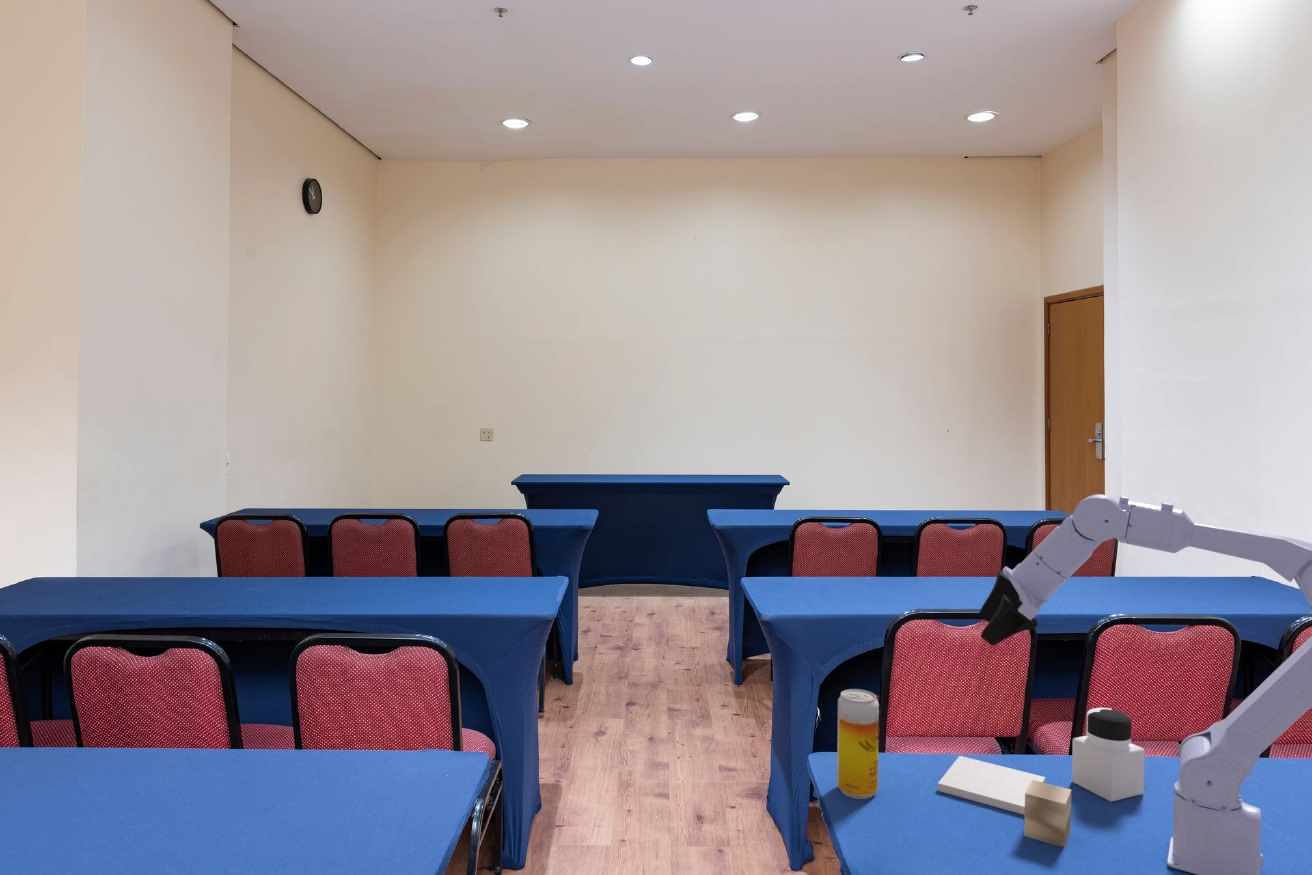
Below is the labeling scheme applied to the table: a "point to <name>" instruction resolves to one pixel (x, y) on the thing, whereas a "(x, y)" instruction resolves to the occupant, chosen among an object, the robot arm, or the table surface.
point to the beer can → (857, 743)
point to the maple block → (1047, 813)
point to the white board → (988, 783)
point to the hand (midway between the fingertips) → (985, 628)
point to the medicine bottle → (1108, 757)
